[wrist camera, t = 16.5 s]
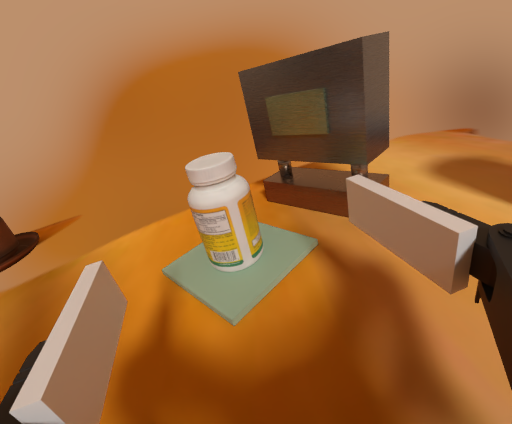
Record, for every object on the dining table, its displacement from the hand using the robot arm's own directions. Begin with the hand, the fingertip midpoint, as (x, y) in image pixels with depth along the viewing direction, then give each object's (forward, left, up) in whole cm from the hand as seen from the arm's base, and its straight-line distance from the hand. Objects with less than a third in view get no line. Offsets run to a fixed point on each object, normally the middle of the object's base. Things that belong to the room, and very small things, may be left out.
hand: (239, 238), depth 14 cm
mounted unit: (-7, +18, -8) cm, 21 cm away
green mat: (-8, +5, -8) cm, 12 cm away
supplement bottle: (-8, +5, -8) cm, 12 cm away
